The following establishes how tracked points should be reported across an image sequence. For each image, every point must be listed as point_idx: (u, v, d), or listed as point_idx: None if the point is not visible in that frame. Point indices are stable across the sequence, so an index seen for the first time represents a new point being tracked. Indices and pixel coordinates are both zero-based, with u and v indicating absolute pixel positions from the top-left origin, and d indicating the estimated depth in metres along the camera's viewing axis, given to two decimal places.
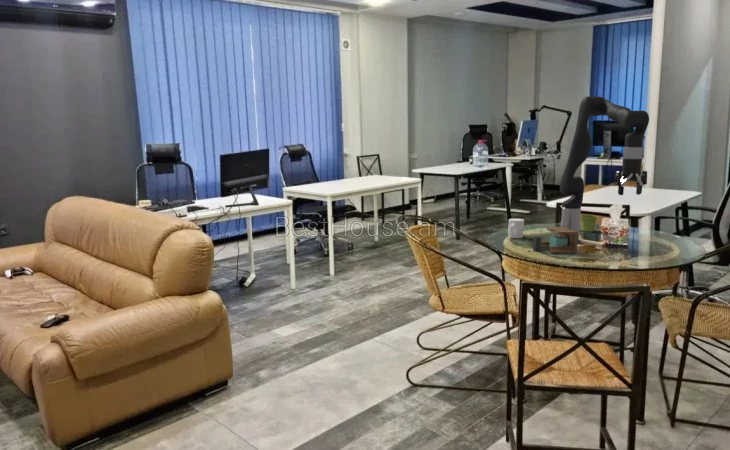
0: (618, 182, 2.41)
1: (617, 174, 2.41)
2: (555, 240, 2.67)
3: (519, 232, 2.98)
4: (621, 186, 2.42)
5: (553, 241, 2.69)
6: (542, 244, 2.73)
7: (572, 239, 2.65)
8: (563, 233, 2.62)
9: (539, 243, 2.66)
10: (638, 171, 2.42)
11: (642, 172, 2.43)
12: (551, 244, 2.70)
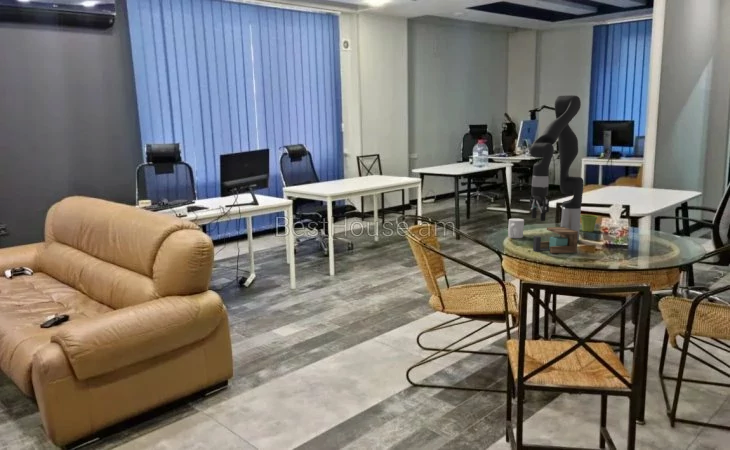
0: None
1: (547, 202, 2.57)
2: (555, 240, 2.67)
3: (519, 232, 2.98)
4: (545, 212, 2.60)
5: (553, 241, 2.69)
6: (542, 244, 2.73)
7: (572, 239, 2.65)
8: (563, 233, 2.62)
9: (539, 243, 2.66)
10: None
11: None
12: (551, 244, 2.70)
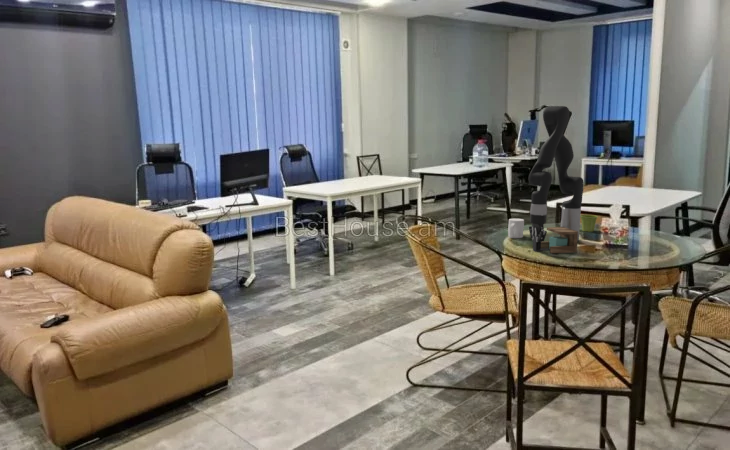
0: None
1: (544, 234, 2.61)
2: (555, 240, 2.67)
3: (519, 232, 2.98)
4: (540, 241, 2.66)
5: (553, 241, 2.69)
6: (542, 244, 2.73)
7: (572, 239, 2.65)
8: (563, 233, 2.62)
9: None
10: None
11: None
12: (551, 244, 2.70)
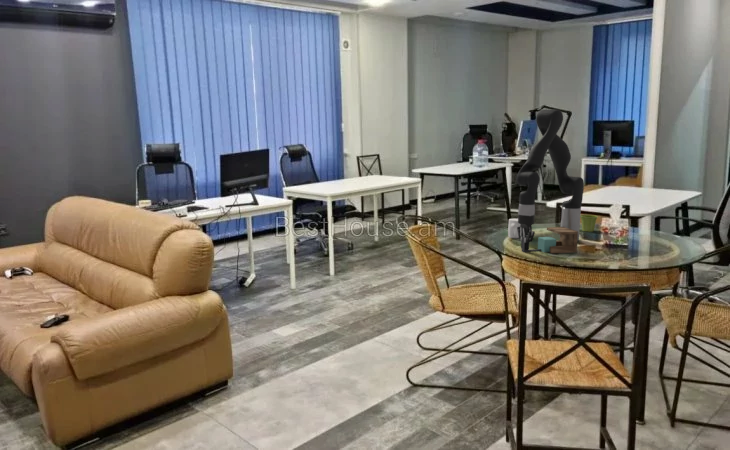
0: None
1: (532, 234, 2.59)
2: (543, 241, 2.65)
3: None
4: None
5: (541, 241, 2.67)
6: None
7: (572, 239, 2.65)
8: (563, 233, 2.62)
9: None
10: None
11: None
12: (540, 245, 2.69)
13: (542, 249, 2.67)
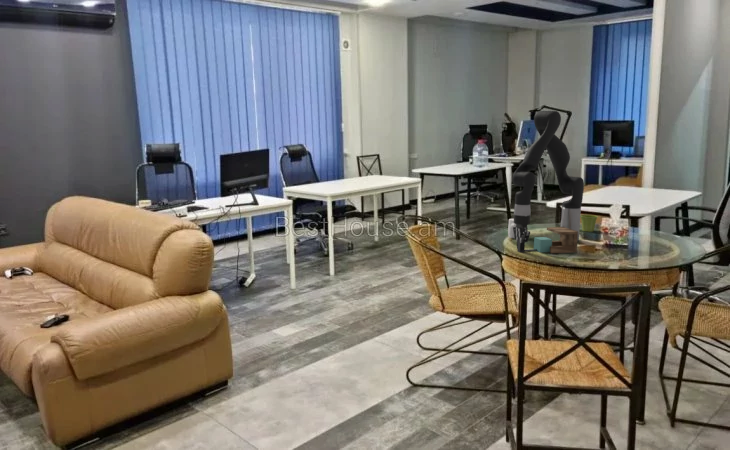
0: None
1: (527, 234, 2.59)
2: (539, 241, 2.65)
3: None
4: (524, 242, 2.64)
5: (537, 241, 2.67)
6: None
7: (572, 239, 2.65)
8: (563, 233, 2.62)
9: None
10: None
11: None
12: (535, 245, 2.69)
13: (537, 249, 2.67)
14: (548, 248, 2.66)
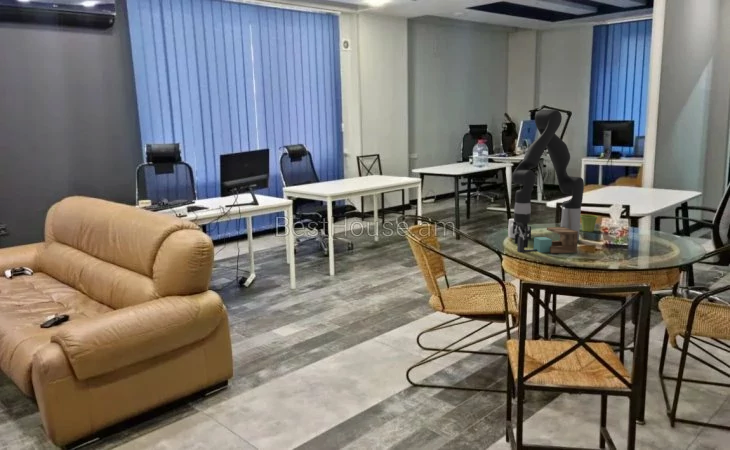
0: None
1: (529, 229, 2.58)
2: (539, 241, 2.65)
3: None
4: (528, 239, 2.61)
5: (537, 241, 2.67)
6: None
7: (572, 239, 2.65)
8: (563, 233, 2.62)
9: None
10: None
11: None
12: (535, 245, 2.69)
13: (537, 249, 2.67)
14: (548, 248, 2.66)
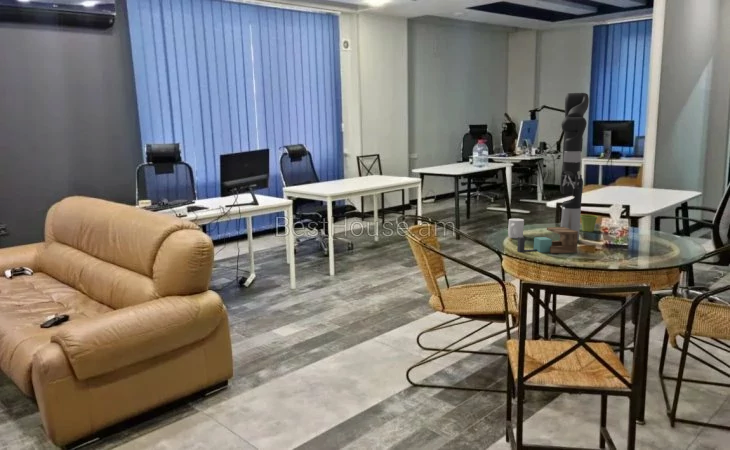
0: None
1: (579, 177, 2.54)
2: (539, 241, 2.65)
3: (519, 232, 2.98)
4: (578, 188, 2.57)
5: (537, 241, 2.67)
6: None
7: (572, 239, 2.65)
8: (563, 233, 2.62)
9: (523, 244, 2.65)
10: None
11: None
12: (535, 245, 2.69)
13: (537, 249, 2.67)
14: (548, 248, 2.66)
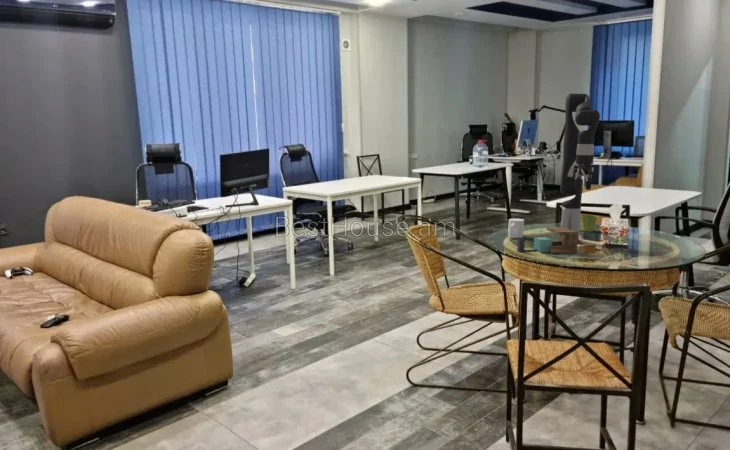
0: None
1: (593, 170, 2.53)
2: (539, 241, 2.65)
3: (519, 232, 2.98)
4: None
5: (537, 241, 2.67)
6: None
7: (572, 239, 2.65)
8: (563, 233, 2.62)
9: (523, 244, 2.65)
10: None
11: None
12: (535, 245, 2.69)
13: (537, 249, 2.67)
14: (548, 248, 2.66)
